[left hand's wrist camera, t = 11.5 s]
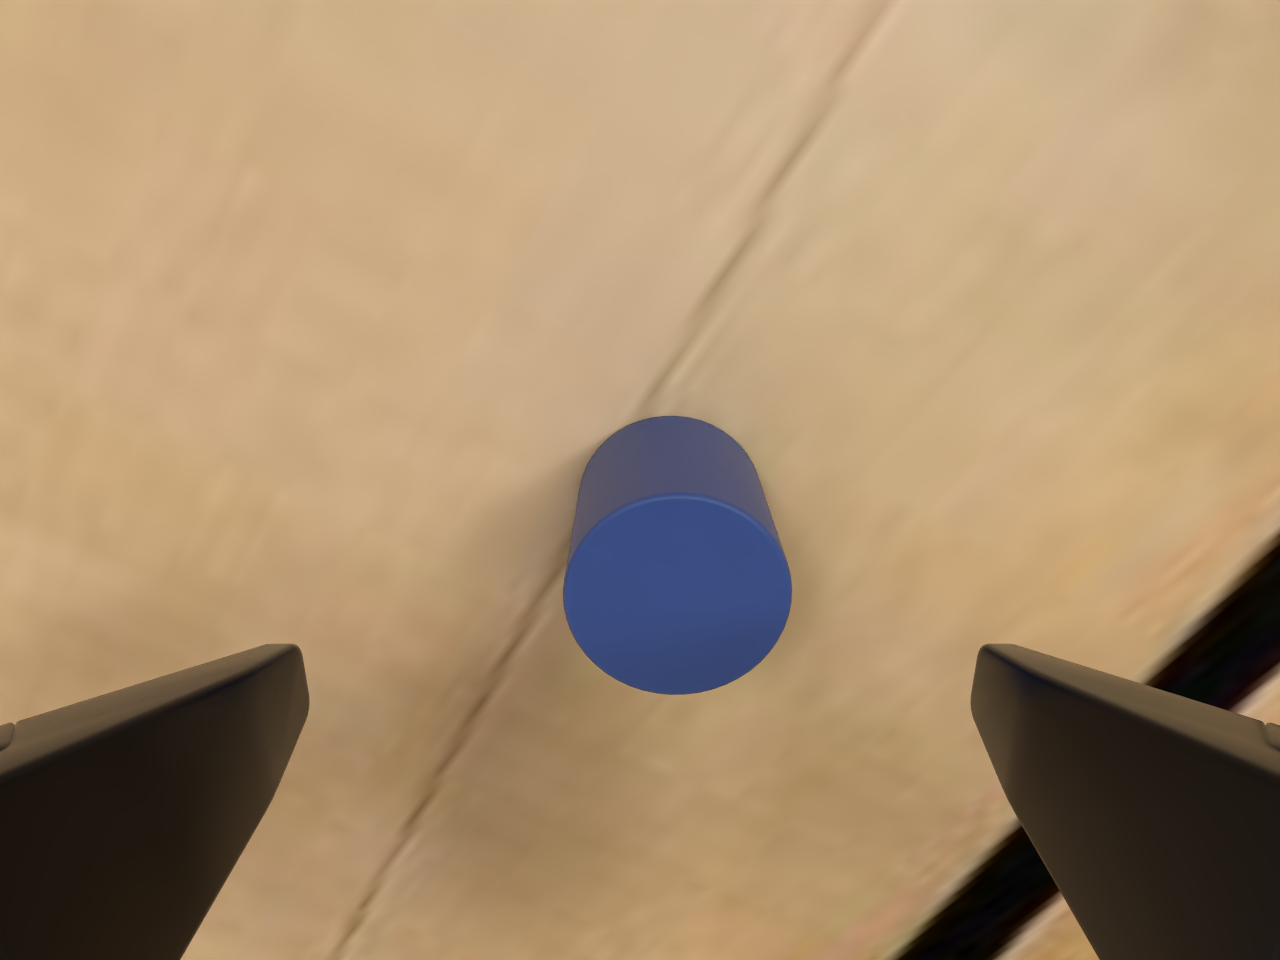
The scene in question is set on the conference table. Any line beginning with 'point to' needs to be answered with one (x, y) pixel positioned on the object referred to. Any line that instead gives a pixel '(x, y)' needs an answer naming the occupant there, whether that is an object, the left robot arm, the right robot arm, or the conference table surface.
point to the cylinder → (674, 559)
